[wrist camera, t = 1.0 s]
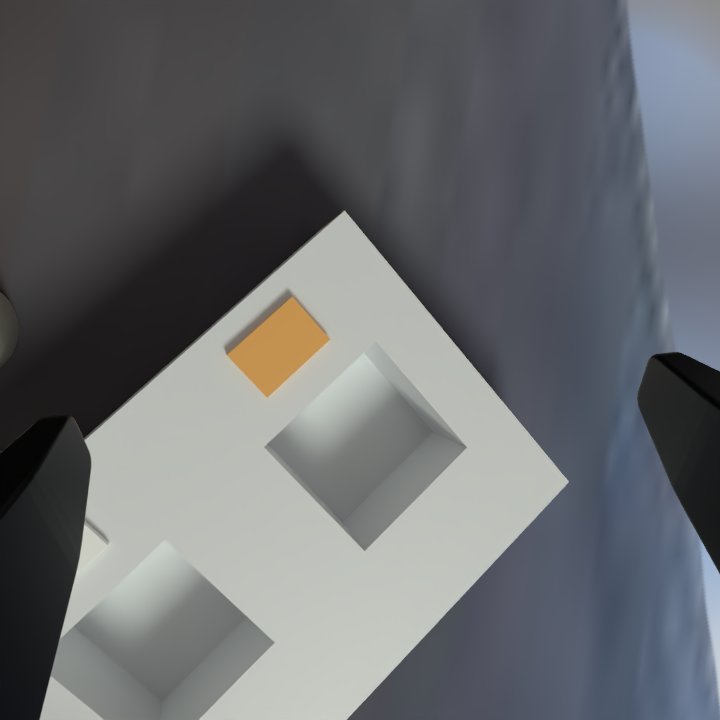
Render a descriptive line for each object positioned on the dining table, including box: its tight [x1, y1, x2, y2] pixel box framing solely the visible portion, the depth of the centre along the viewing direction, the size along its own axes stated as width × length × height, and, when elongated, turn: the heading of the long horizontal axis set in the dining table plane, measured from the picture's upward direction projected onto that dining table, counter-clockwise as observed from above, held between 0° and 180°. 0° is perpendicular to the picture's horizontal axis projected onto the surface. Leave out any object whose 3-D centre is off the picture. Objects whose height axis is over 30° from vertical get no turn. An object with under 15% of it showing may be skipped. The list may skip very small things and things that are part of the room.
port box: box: [40, 211, 568, 720], centre depth 23 cm, size 20×14×5 cm
